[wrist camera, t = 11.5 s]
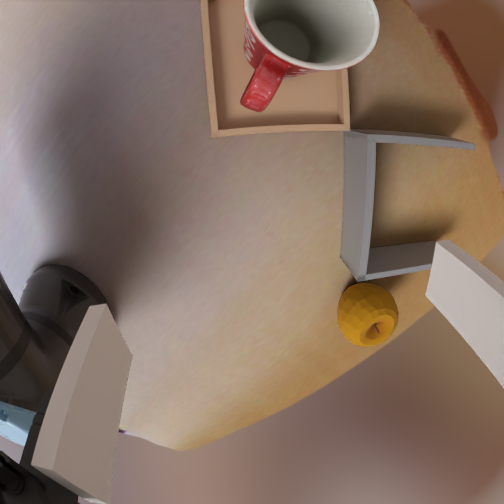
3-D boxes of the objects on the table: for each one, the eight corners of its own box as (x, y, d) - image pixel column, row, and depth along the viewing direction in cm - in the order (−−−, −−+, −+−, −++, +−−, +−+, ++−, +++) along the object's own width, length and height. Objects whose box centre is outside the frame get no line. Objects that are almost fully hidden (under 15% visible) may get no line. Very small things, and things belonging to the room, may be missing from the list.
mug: (262, -3, 22) (289, -62, 10) (334, 40, 25) (399, 10, 13) (199, 87, 27) (183, 72, 15) (275, 129, 29) (312, 144, 17)
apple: (389, 288, 42) (417, 324, 34) (350, 325, 44) (371, 365, 36) (359, 258, 39) (388, 295, 31) (316, 300, 41) (335, 343, 33)
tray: (212, 135, 30) (211, 137, 28) (201, -1, 22) (199, -9, 20) (341, 128, 31) (350, 130, 28) (330, -1, 23) (338, -7, 21)
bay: (340, 257, 38) (357, 281, 33) (343, 128, 31) (367, 134, 25) (432, 244, 39) (455, 264, 34) (445, 135, 31) (475, 144, 26)
